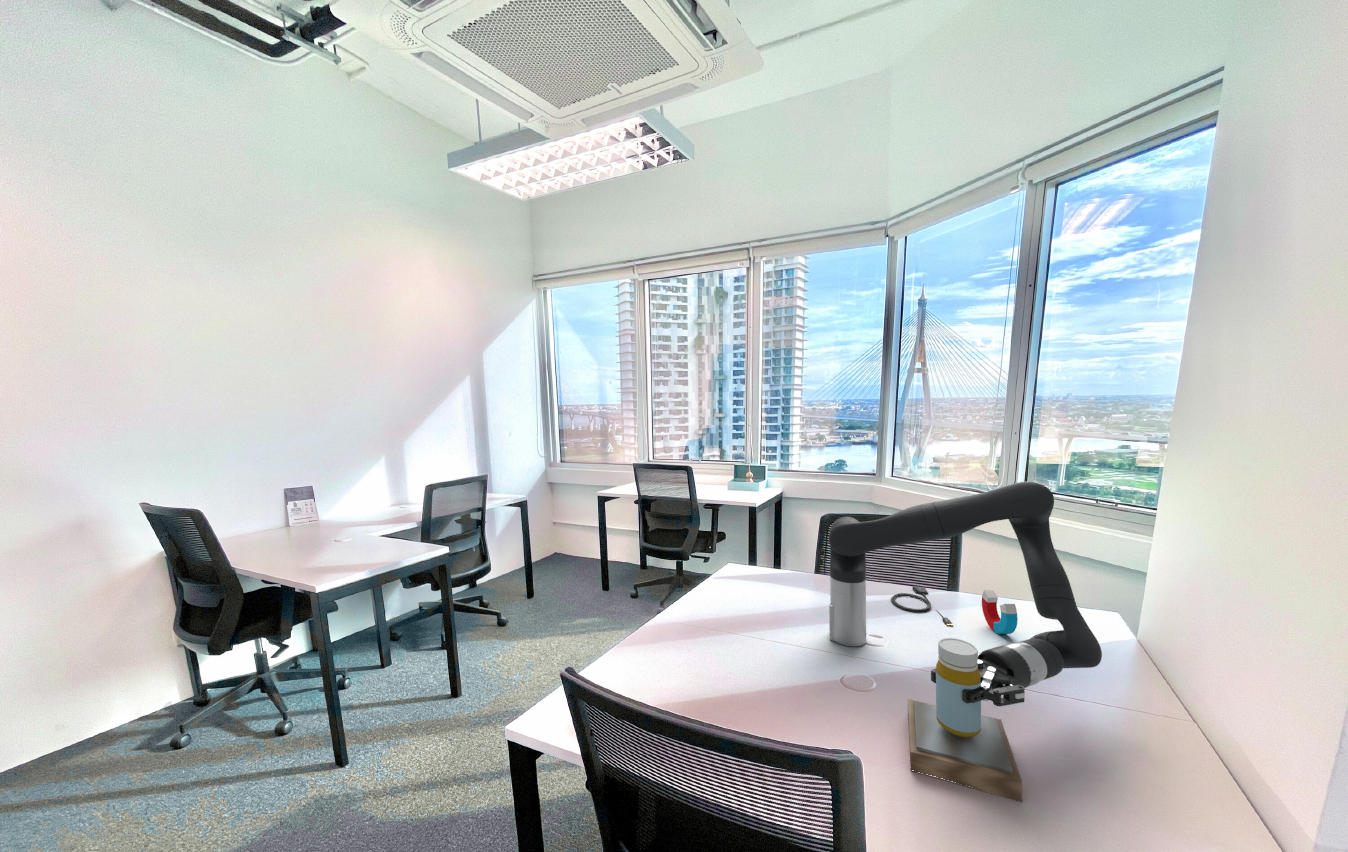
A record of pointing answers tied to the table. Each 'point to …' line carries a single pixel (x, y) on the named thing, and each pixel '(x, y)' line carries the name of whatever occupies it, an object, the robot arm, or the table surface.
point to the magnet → (992, 618)
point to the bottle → (957, 687)
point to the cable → (923, 592)
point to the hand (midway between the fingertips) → (948, 686)
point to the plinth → (963, 753)
